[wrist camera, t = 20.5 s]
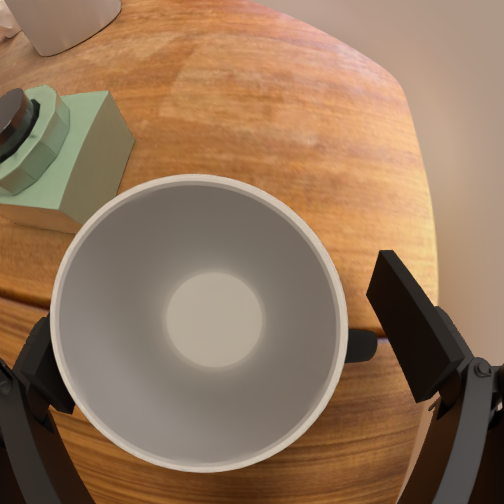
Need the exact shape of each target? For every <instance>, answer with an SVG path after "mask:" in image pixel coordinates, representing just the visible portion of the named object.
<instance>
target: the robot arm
mask: <svg viewBox="0 0 504 504" xmlns="http://www.w3.org/2000/svg"><path fill="white" fill-rule="evenodd" d="M366 296H367V298H368V300H369V302H370V304H371V305H372V307H373V309H374V311H375V313H376V315H377V317H378V319H379V321H380V323H381V325H382V327H383V330H384V332H385V334H386V336H387V338H388V340H389V342H390V344H391V346H392V348H393V351H394V353H395V355H396V357H397V359H398V362H399V364H400V366H401V368H402V371H403V373H404V375H405V378H406V380H407V382H408V385H409V387H410V389H411V392H412V394H413V397H414V399H415V402H416V403H419V402H422V401H425V400H428V399H431V397H433V395H434V394H435V393H436V392H437V391H439V394H440V397H439V398H438V399H437V400H436V401H435V402H434V403H433V404H432V405H431V406H430V408H429V410H428V411H431V410H432V409H433V408H434V407H435V410H434V411H433V416H432V420H431V423H430V426H429V429H428V432H427V435H426V438H425V441H424V444H423V446H422V449H421V452H420V455H419V457H418V460H417V462H416V464H415V467H414V469H413V472H412V474H411V476H410V478H409V481H408V483H407V485H406V487H405V489H404V491H403V493H402V495H401V497H400V499H399V501H398V503H397V504H504V364H503V365H502V366H491V365H490V364H489V363H488V362H487V361H486V360H484V359H483V358H480V357H476V358H475V357H474V356H473V354H472V352H471V351H470V349H469V347H468V346H467V344H466V342H465V341H464V339H463V337H462V336H461V334H460V333H459V331H457V328H456V327H455V325H454V324H453V322H452V320H451V319H450V317H449V316H448V314H447V313H446V312H444V310H442V309H441V308H440V307H439V306H435V307H434V306H433V304H432V303H431V301H430V300H429V298H428V297H427V295H426V294H425V293H424V291H423V290H422V288H421V287H420V286H419V284H418V283H417V281H416V280H415V279H414V277H413V276H412V275H411V273H410V272H409V271H408V269H407V268H406V267H405V265H404V264H403V263H402V261H401V260H400V259H399V257H398V256H397V255H396V254H395V252H394V251H393V250H380V251H379V254H378V258H377V261H376V265H375V268H374V271H373V275H372V278H371V281H370V284H369V287H368V290H367V293H366ZM29 335H30V336H28V338H27V340H26V344H24V346H23V348H22V350H21V352H20V354H19V356H18V358H17V360H16V362H15V365H14V367H13V369H12V370H11V369H10V368H9V367H8V366H7V364H6V363H5V362H4V361H3V360H2V359H1V358H0V504H96V503H95V502H94V500H93V498H92V497H91V495H90V494H89V492H88V490H87V488H86V487H85V485H84V483H83V481H82V480H81V478H80V476H79V474H78V472H77V470H76V468H75V466H74V464H73V463H72V460H71V458H70V456H69V454H68V452H67V450H66V448H65V446H64V443H63V441H62V439H61V436H60V434H59V432H58V429H57V427H56V424H55V422H54V419H53V416H52V414H51V412H50V411H49V410H48V408H49V405H50V404H51V405H52V406H53V407H54V408H55V409H56V410H57V411H60V412H63V413H67V414H71V415H72V413H73V410H74V406H75V401H74V400H73V398H72V396H71V395H70V393H69V391H68V389H67V387H66V385H65V383H64V381H63V379H62V376H61V374H60V371H59V368H58V366H57V362H56V359H55V355H54V351H53V345H52V339H51V329H50V312H49V313H48V315H47V317H42V318H41V319H40V320H39V321H38V322H37V323H36V324H35V325H34V327H33V329H32V331H31V333H30V334H29ZM501 402H502V409H501V410H498V405H499V404H500V403H501Z"/></svg>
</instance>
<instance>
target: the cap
mask: <svg viewBox="0 0 504 504" xmlns="http://www.w3.org/2000/svg"><path fill="white" fill-rule="evenodd" d="M38 118H39V111H38V109H37V108H36V106H35V105H34V104H33V103H32V102H31V100H30V99H29V98H28V97H27V95H26V94H25V93H24V91H23V90H22V89H19V88H16V89H13V90H11V91H9V92H7V93H6V94H4V95H3V96H2V97H1V98H0V162H4V161H5V160H7V159H8V158H9V157H11V156H12V155H13V154H15V153H16V151H17V150H18V149H19V148H20V146H21V145H22V144H23V143H24V142H25V140H26V139H27V138H28V137H29V135H30V133H31V131H32V129H33V127H34V125H35V124H36V122H37V120H38Z"/></svg>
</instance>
